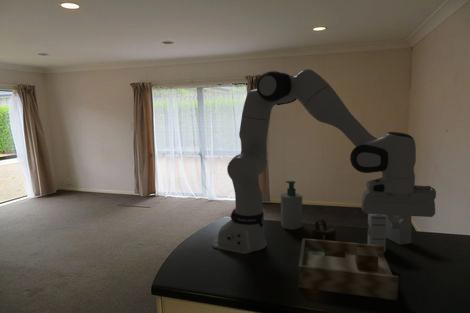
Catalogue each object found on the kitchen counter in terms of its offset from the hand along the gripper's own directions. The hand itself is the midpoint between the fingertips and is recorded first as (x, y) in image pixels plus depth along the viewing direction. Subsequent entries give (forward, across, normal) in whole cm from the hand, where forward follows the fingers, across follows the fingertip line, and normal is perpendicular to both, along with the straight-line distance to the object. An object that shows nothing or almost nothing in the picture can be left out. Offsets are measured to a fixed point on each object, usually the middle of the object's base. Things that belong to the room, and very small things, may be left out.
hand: (396, 228), depth 95 cm
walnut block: (+14, +8, 0) cm, 16 cm away
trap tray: (+18, +15, 0) cm, 23 cm away
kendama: (+18, +22, -31) cm, 42 cm away
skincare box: (+18, -9, -34) cm, 40 cm away
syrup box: (+18, +1, -24) cm, 30 cm away
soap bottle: (+17, +36, -42) cm, 58 cm away
